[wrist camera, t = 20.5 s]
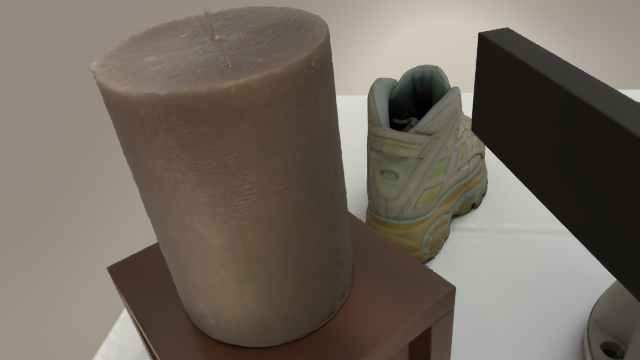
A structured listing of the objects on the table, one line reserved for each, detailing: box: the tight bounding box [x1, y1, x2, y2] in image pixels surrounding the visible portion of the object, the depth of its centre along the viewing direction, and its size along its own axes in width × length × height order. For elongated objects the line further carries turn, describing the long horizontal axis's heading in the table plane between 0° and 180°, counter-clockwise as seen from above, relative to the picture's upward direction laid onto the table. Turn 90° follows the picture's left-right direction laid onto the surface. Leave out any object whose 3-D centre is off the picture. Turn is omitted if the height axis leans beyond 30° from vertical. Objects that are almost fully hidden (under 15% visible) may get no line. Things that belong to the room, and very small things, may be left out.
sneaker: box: [366, 65, 488, 263], centre depth 45 cm, size 11×19×15 cm, turn 136°
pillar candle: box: [90, 6, 354, 347], centre depth 24 cm, size 10×10×15 cm
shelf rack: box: [107, 212, 456, 360], centre depth 31 cm, size 14×15×11 cm
